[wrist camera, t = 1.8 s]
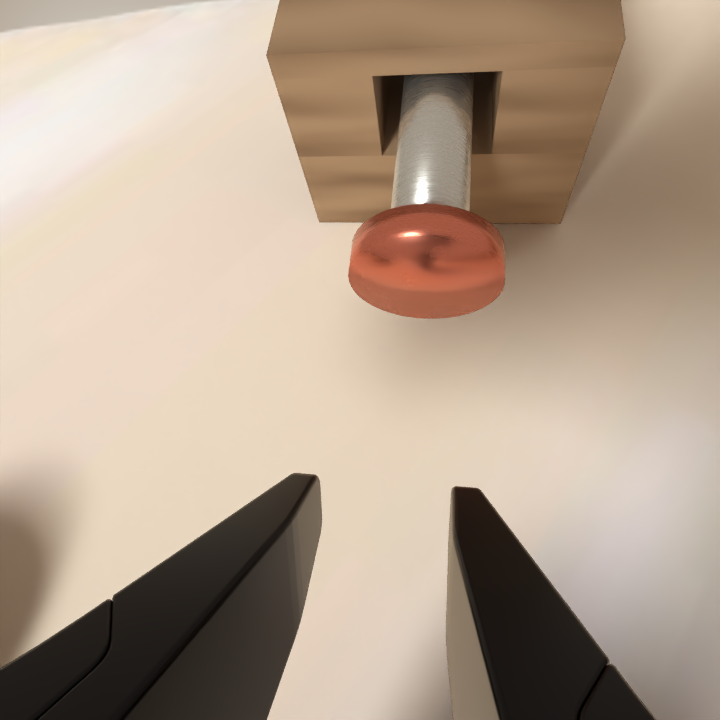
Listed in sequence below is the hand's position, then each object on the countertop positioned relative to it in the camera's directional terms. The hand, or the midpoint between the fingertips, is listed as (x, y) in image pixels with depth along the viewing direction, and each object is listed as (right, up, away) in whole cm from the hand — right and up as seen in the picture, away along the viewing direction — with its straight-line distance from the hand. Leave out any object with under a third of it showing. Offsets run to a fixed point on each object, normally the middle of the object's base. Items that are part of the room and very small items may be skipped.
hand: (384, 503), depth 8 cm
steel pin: (+3, +11, +15) cm, 19 cm away
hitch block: (+4, +13, +20) cm, 24 cm away
